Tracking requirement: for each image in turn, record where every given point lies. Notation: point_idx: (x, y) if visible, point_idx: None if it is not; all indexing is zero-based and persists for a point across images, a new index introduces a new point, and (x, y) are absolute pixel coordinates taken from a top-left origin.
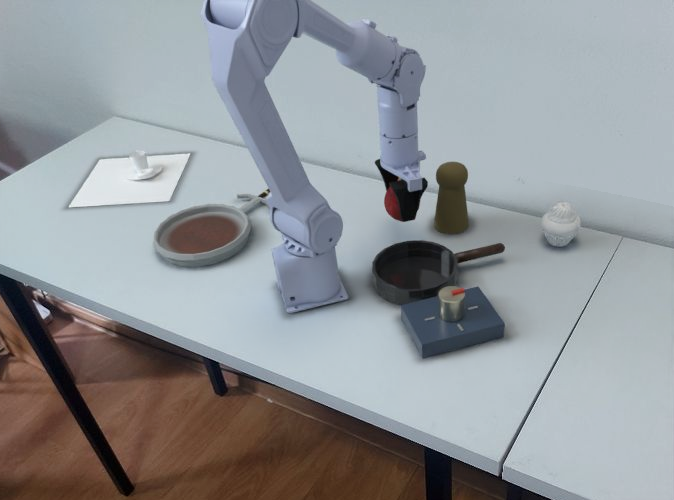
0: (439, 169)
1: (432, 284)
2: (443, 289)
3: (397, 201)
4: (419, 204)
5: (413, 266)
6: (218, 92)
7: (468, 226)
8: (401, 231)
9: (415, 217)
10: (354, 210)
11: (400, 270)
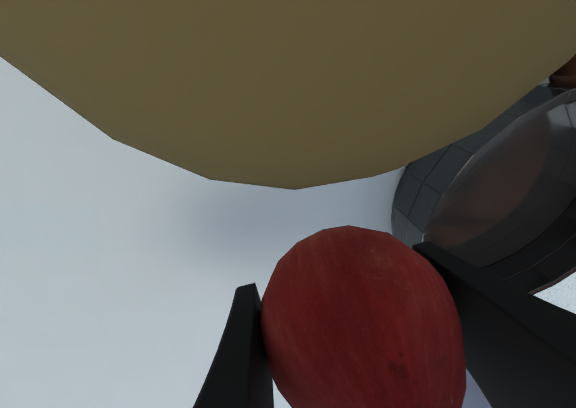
0: (325, 168)
1: (544, 157)
2: None
3: (488, 393)
4: (405, 246)
5: (451, 196)
6: None
7: None
8: (259, 210)
9: (436, 245)
10: (121, 322)
11: (449, 226)
